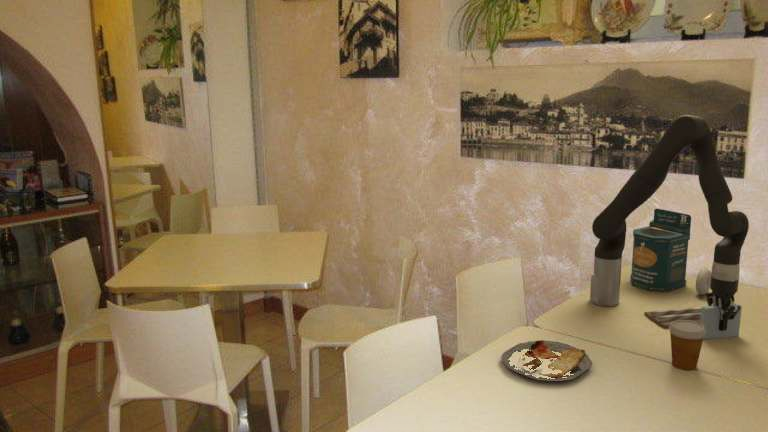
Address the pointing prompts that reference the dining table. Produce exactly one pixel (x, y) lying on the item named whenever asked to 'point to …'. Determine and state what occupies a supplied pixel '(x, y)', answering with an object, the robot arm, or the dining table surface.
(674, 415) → the dining table surface
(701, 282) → the beige flat disc
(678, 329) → the disposable coffee cup
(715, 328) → the door panel
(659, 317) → the floor track
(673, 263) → the donation box
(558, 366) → the food plate
